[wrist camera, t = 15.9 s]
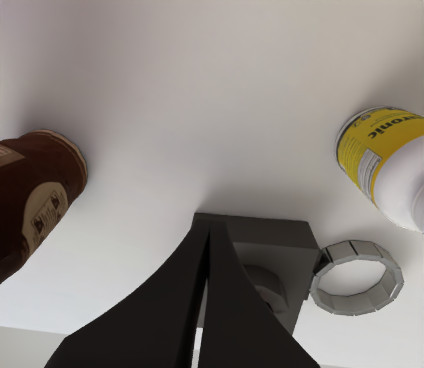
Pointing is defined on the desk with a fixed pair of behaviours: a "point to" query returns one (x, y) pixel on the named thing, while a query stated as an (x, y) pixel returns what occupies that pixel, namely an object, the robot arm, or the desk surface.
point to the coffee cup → (35, 192)
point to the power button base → (272, 261)
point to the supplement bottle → (386, 162)
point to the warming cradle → (360, 302)
